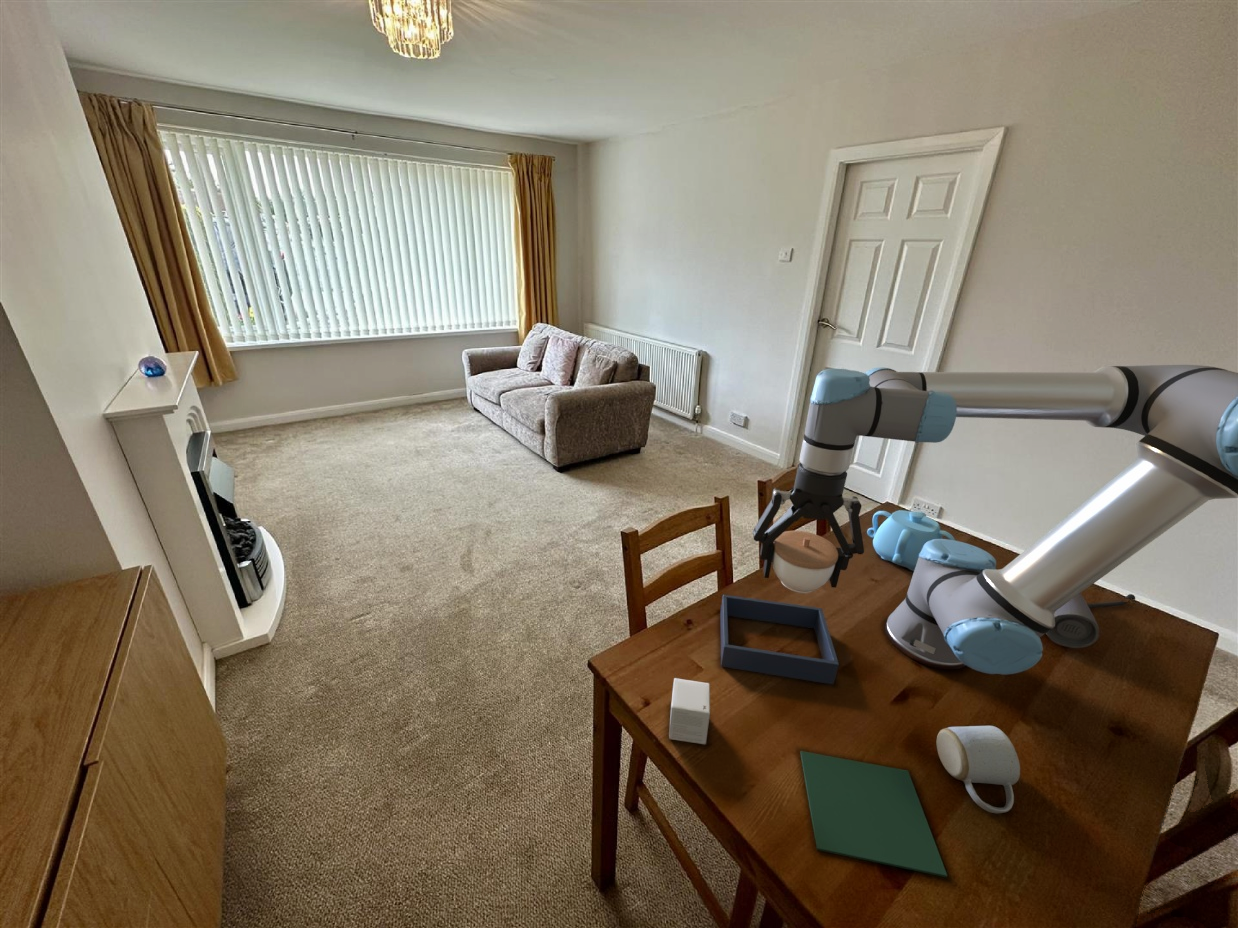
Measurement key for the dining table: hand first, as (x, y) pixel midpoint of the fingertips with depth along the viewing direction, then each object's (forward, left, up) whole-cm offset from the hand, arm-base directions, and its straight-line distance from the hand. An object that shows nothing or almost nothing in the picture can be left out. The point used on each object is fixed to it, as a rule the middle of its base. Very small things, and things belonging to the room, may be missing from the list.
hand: (798, 578), depth 86 cm
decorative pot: (-37, -44, -20) cm, 61 cm away
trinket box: (0, 0, -1) cm, 1 cm away
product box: (+17, +18, -20) cm, 32 cm away
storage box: (+1, -4, -20) cm, 20 cm away
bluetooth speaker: (-61, -26, -20) cm, 69 cm away
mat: (-9, +26, -20) cm, 34 cm away
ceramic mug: (-27, +18, -20) cm, 38 cm away
